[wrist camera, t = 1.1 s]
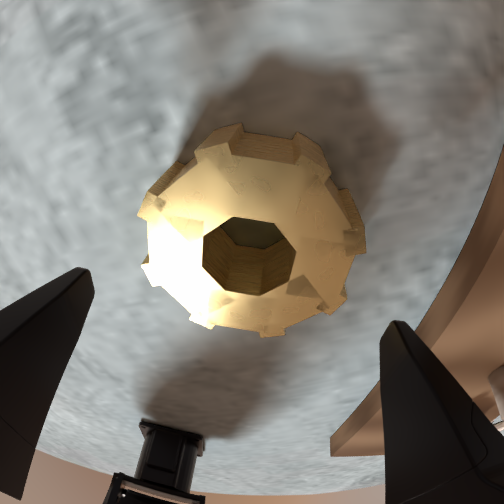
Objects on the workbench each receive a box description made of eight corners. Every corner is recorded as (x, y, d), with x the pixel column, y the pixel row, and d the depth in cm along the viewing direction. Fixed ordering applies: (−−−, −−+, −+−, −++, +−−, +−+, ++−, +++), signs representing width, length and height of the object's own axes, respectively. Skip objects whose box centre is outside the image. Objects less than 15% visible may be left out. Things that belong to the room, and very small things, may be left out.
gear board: (458, 429, 25) (466, 470, 20) (330, 437, 25) (330, 490, 20) (621, 211, 9) (662, 254, 4) (510, 121, 9) (598, 171, 4)
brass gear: (321, 298, 15) (325, 346, 12) (168, 273, 15) (147, 316, 12) (368, 147, 11) (393, 175, 8) (169, 115, 11) (135, 134, 8)
